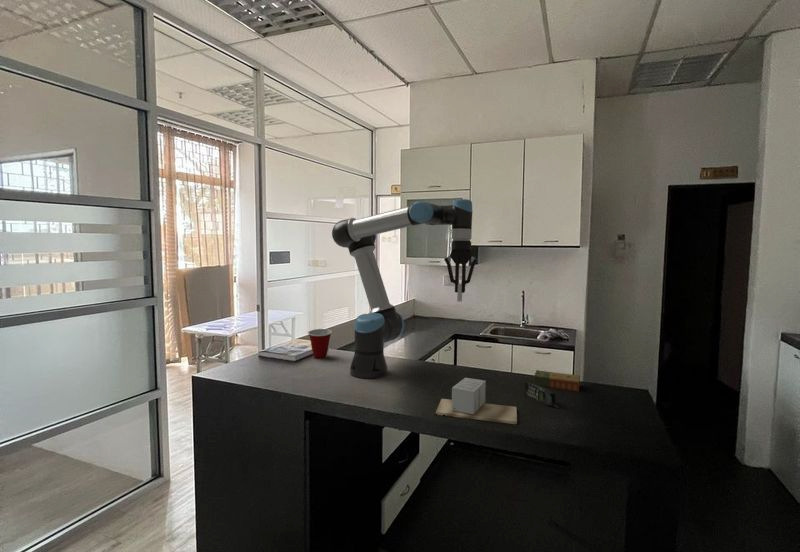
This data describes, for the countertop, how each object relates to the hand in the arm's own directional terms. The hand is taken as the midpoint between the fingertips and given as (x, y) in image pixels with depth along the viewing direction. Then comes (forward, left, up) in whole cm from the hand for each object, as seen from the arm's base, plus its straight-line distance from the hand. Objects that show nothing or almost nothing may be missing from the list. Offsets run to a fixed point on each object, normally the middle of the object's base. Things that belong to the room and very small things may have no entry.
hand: (459, 301), depth 164 cm
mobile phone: (+30, -16, -31) cm, 46 cm away
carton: (+37, +3, -31) cm, 48 cm away
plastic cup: (-64, +11, -31) cm, 72 cm away
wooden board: (+10, -33, -30) cm, 46 cm away
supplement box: (+9, -25, -26) cm, 37 cm away
